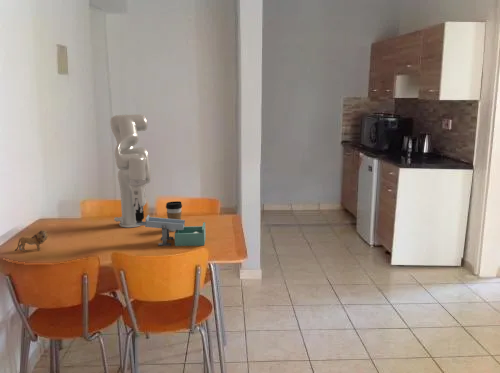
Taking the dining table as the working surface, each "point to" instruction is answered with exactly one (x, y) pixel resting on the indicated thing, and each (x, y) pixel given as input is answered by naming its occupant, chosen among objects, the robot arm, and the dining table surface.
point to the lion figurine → (33, 240)
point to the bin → (190, 236)
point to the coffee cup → (174, 211)
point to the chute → (162, 223)
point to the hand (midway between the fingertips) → (139, 219)
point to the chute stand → (165, 237)
